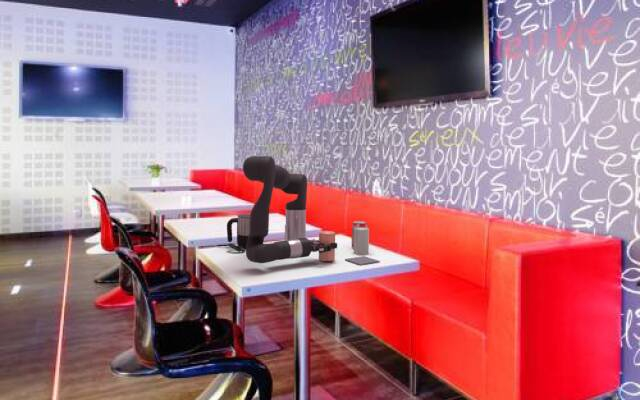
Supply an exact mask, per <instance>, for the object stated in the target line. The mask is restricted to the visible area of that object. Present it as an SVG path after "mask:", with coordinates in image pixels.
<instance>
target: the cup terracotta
mask: <svg viewBox="0 0 640 400" xmlns="http://www.w3.org/2000/svg"><path fill="white" fill-rule="evenodd" d="M318 240H319V242H323V243H324V244H327V243H336V232H335V231H331V230H320V231H319V233H318ZM320 245H321V246H322V244H320ZM335 259H336V248H335V249H331V251H328V252H323V253H319V252H318V260H320V261H322V262H331V261H335Z"/></svg>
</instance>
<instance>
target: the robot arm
mask: <svg viewBox="0 0 640 400" xmlns="http://www.w3.org/2000/svg"><path fill="white" fill-rule="evenodd" d="M242 171H243V174H244V176H245V177H246V179H247V180H249V181H253V182H258V183H259V182H260V183H263V186H262V190H261V193H260V194H259V197H258V199H257V200H256V201H255V203H254V205H253V207H252V208H251V210H250V233H249V236H248V240H247V245H246V249H245V255H246V258H247V260H249V262H252V263H257V264H265V263H267V264H268V263H272V262H275V261H279V260H281V261H282V260H289V259H294V260H295V259H298V258H299V259H301V258H306V257H307V258H308V257H309V256H310V255H311V253H317V252H318V254H319V253H323V252H328V251H331V249H335V250H336V249H337V248H338V243H337V242H335V243H327V244H324V243H323V242H319V239H309V238H307V237H306V233H307V229H306V228H307V227H306V226H307V219H306V218H307V216H306V215H307V194H308V193H307V192H308V191H307V190H308V178H307V176H306V175H305V174H303V173H290V172H289V171H288V170H287V169H286V168H285V167H283V166H281V165H278V164H276V162H275V159H274V158H273V157H272V156H271V155H270V156H269V155H253V156H250V157H247V158H246V159H245V160H244V162H243V164H242ZM274 189H277V190H281V191H282V192H283V193H285V194H287V195H297V197H296V198H295V199H293V200H290V201H287V202H286V203H285V225H284V240H277V241H274V242H272V243H271V242H270V243H264V241H265V237H268V234H269V230H270V229H269V228H270V227H269V226H270V208H271V202H272V197H273V191H274ZM320 244H322V246H321V245H320Z"/></svg>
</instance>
